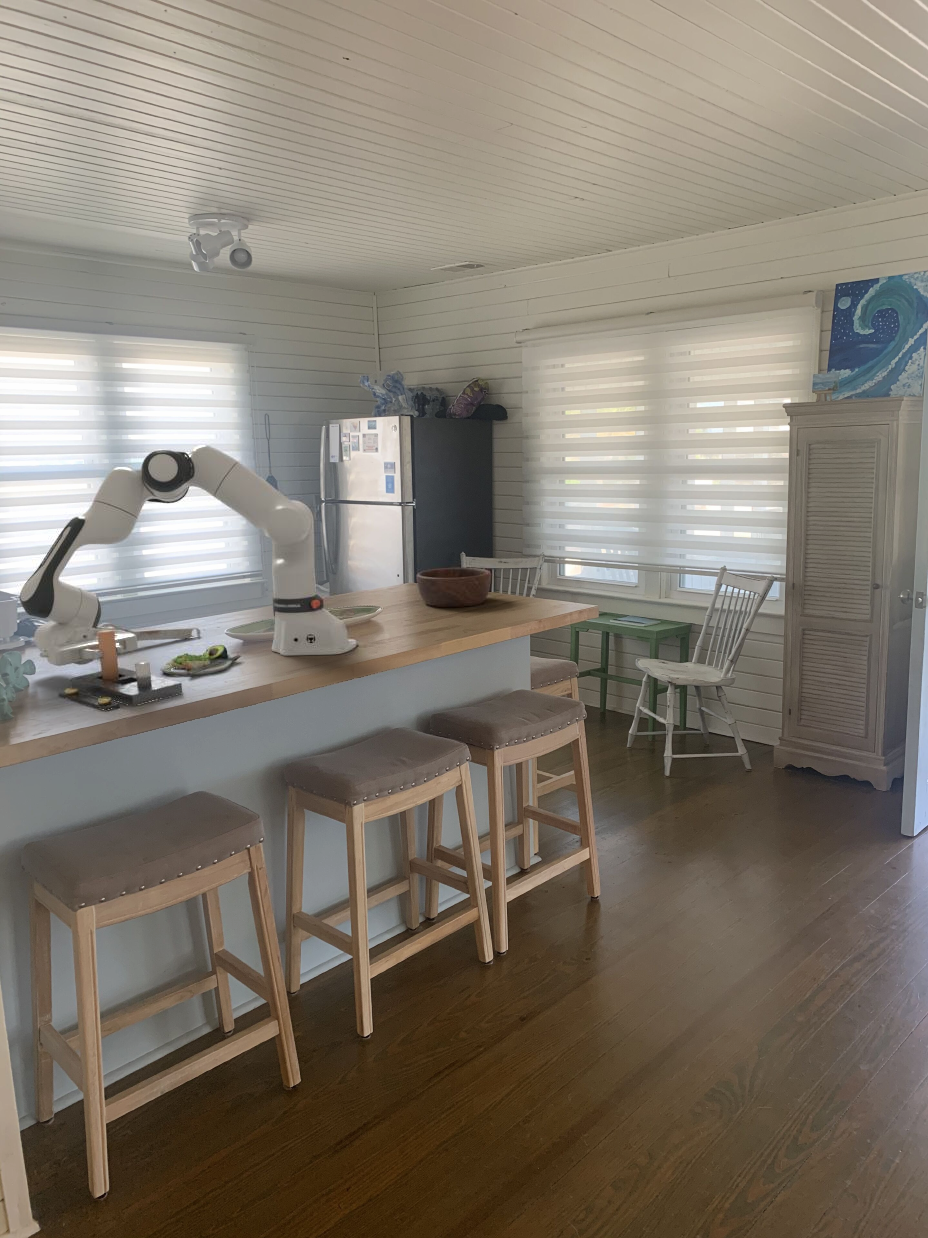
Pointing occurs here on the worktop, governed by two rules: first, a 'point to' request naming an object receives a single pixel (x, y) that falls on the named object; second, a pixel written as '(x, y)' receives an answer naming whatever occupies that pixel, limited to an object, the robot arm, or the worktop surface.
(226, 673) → the worktop surface
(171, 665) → the salad plate
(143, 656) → the worktop surface
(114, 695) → the hole plate
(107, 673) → the dowel
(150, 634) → the wrench
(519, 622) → the worktop surface
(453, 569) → the wooden bowl
